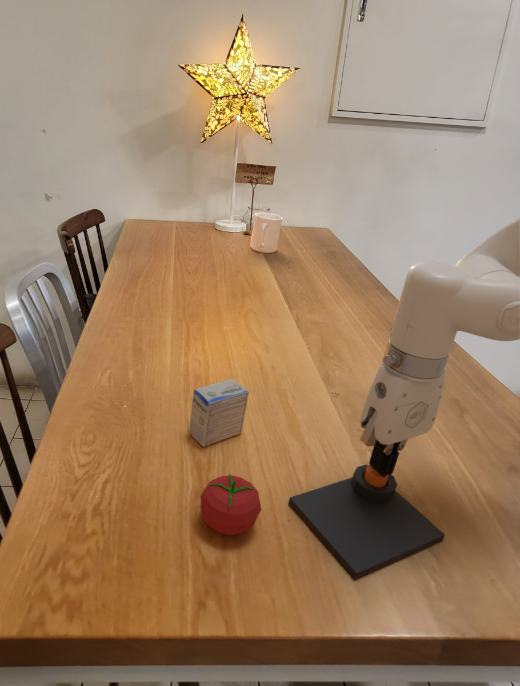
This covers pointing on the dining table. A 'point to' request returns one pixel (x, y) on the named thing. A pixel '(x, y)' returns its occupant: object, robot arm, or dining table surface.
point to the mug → (265, 232)
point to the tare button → (374, 477)
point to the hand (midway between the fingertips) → (380, 469)
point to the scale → (365, 523)
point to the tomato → (230, 505)
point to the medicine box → (218, 412)
